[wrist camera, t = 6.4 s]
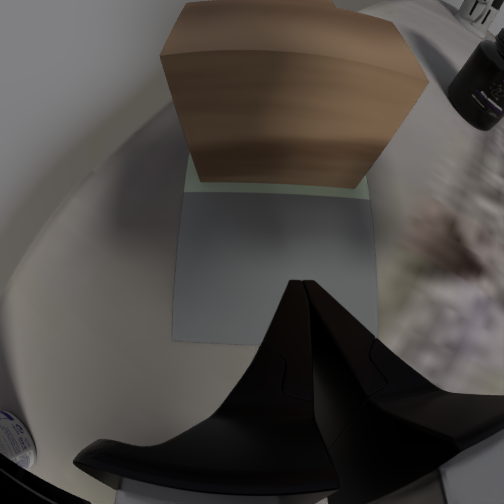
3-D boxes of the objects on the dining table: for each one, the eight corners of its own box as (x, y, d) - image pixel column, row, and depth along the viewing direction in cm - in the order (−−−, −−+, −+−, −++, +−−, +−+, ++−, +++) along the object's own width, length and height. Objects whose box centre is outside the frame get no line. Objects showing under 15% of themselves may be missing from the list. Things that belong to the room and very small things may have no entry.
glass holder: (483, 33, 30) (505, -4, 15) (487, 49, 27) (515, 5, 12) (454, 12, 31) (473, -27, 16) (453, 23, 28) (477, -24, 13)
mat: (375, 341, 15) (377, 341, 15) (173, 339, 15) (171, 340, 15) (336, 59, 21) (337, 57, 21) (210, 52, 21) (210, 50, 21)
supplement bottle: (465, 129, 20) (527, 57, 8) (436, 82, 21) (480, 10, 10) (498, 136, 20) (553, 80, 8) (472, 92, 22) (515, 34, 10)
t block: (354, 189, 17) (429, 81, 7) (200, 182, 17) (159, 56, 7) (329, 60, 21) (351, -27, 11) (220, 54, 21) (211, -38, 11)
